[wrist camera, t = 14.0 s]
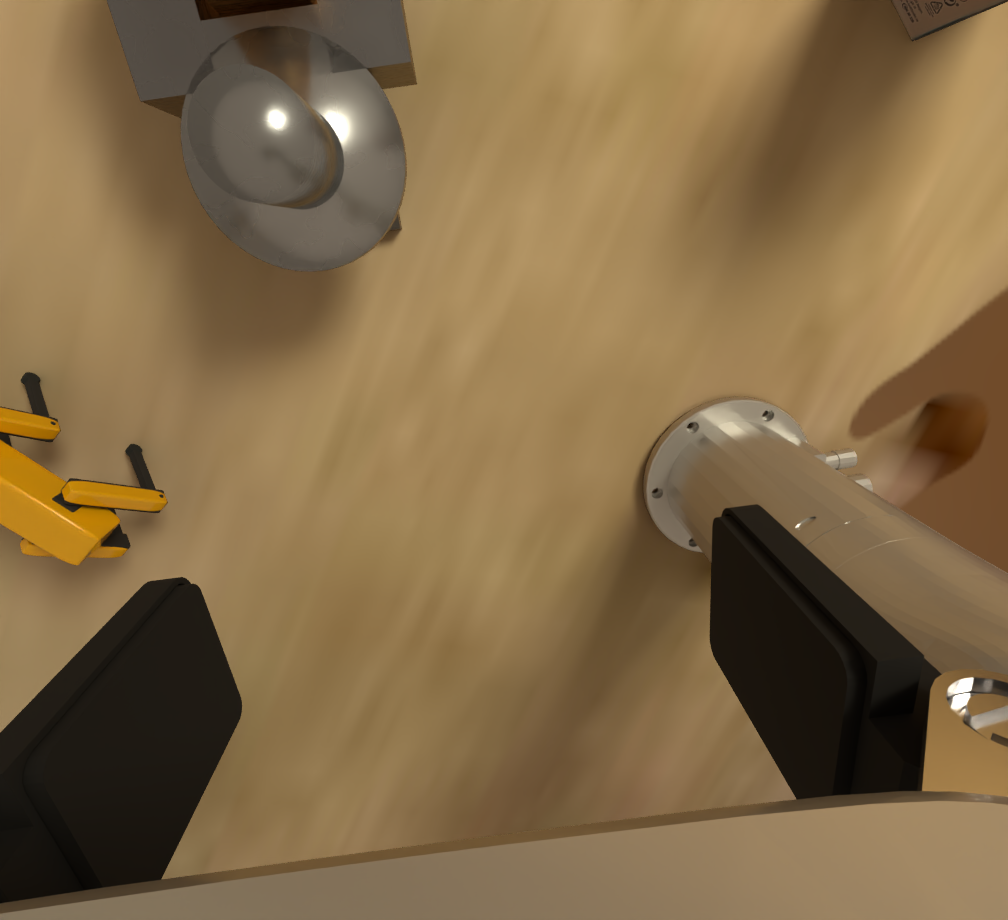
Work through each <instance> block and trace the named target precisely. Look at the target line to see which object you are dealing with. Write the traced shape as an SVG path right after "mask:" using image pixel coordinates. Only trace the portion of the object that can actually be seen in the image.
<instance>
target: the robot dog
mask: <svg viewBox="0 0 1008 920" xmlns="http://www.w3.org/2000/svg"><path fill="white" fill-rule="evenodd" d="M39 381H40V378H39V377H38V376H37V375H35V374H33V373H29V372H27V373H25V374H24V376H23V377H22V379H21V382H22V383H23V384H24V385H25V388H26V391H27V394H28V398H29V401H30V405H31V408H32V411H33V413H28V412H23V411H19V410H14V409H9V408H4V407H0V524H1V525H3V526H5V527H6V528H8V529H10V530H11V531H13V532H15V533H16V534H18V535H20V536H21V537H23V539H22V541H21V543H20V546H21V550H22V553H23V554H26V555H32V556H48V557H57V558H59V559H60V560H62V561H65V562H67V563H69V564H73V565H79V564H80V563H81V562H83V561H84V560H85V559H86V558H87V557H90V558H114V557H120V556H123V554H124V553H125V552H126V551H127V550H128V549H129V547H130V543H129V540H128V537H127V535H126V534H123V533H122V530H121V527H120V524H119V523H120V519H119V518H118V517H117V516H116V513H115V510H114V509H120V510H130V511H140V512H151V513H159V512H160V511H161V510H162V509H163V508H164V506H165V505H166V504H167V503H168V501H167V499H166V497H165V494H164V492H163V491H162V490H156V489H155V486H154V484H153V481H152V479H151V476H150V474H149V471H148V469H147V466H146V464H145V461H144V459H143V456H142V454H141V452H142V449H141V447H139V446H138V445H136V444H130V445H129V447H128V448H127V449H126V450H125V452H126V454H127V455H128V456H129V457H130V460H131V462H132V465H133V468H134V470H135V473H136V475H137V478H138V481H139V483H140V486H141V487H133V486H126V485H118V484H111V483H103V482H96V481H88V480H81V479H73V478H71V479H69V480H68V482H65V481H64V480H62V479H61V478H59V477H58V476H56V475H55V474H53V473H51V472H50V471H48V470H47V469H45V468H44V467H42V466H41V465H39V464H37V463H36V462H34V461H33V460H31V459H30V458H28V457H27V456H25V455H23V454H22V453H20V452H19V451H17V450H16V449H14V448H13V447H12V446H11V442H10V438H9V435H12V436H18V437H24V438H29V439H35V440H40V441H46V442H53V440H54V439H55V438H56V436H57V435H58V434H59V432H60V431H61V430H60V426H59V423H58V420H57V419H55V418H51V417H49V414H48V411H47V408H46V405H45V401H44V398H43V395H42V392H41V388H40V385H39Z"/></svg>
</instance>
